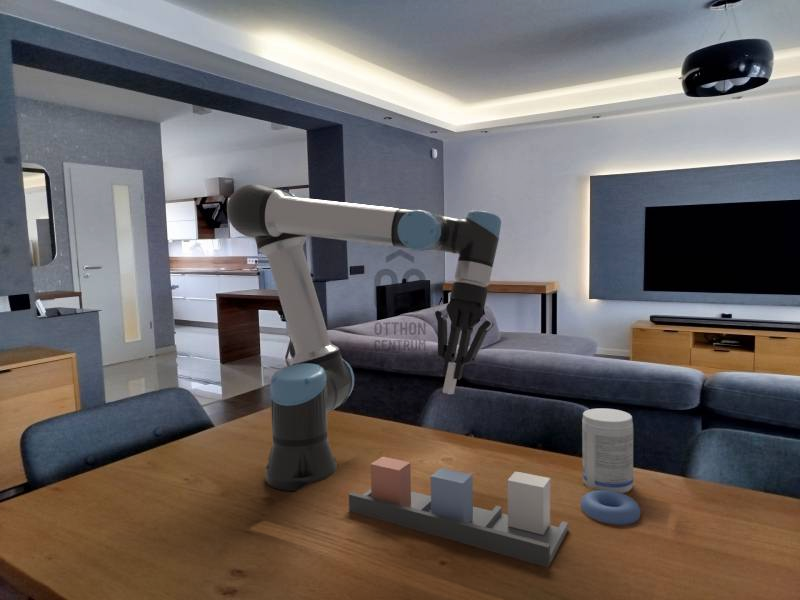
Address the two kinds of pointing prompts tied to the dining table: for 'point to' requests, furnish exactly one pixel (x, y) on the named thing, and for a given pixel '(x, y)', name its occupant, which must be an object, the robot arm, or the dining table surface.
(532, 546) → the grey divided tray
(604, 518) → the doughnut
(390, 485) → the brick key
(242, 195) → the robot arm
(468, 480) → the blue rectangular block
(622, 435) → the supplement tub
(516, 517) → the white rectangular block
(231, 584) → the dining table surface
